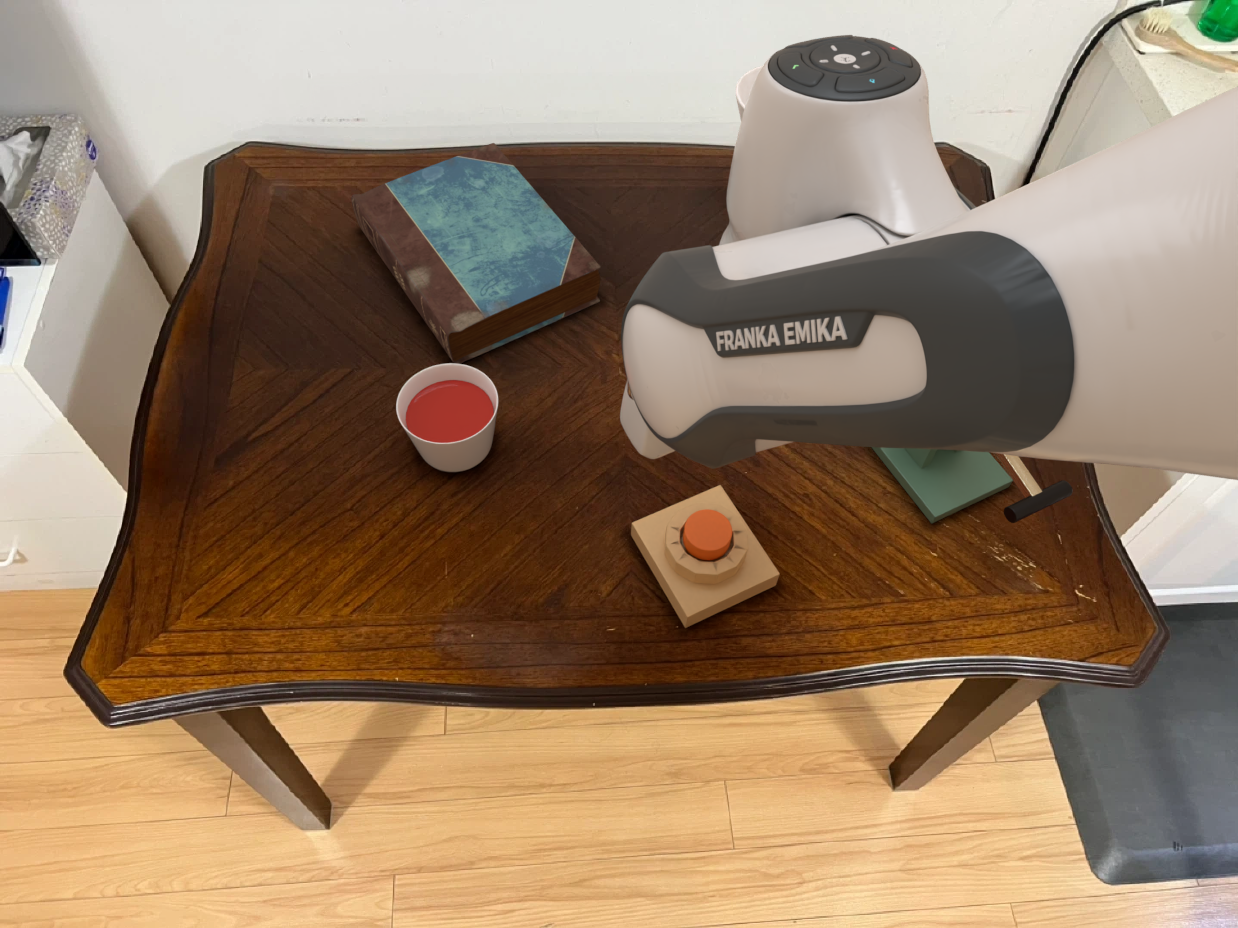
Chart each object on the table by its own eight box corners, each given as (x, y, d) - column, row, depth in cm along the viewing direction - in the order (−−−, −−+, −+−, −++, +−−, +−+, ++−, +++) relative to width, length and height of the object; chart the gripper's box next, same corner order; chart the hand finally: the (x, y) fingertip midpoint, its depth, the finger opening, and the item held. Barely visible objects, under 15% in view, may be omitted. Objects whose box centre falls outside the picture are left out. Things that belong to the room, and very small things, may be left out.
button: (738, 549, 80) (741, 539, 78) (697, 568, 79) (699, 558, 77) (714, 512, 82) (717, 502, 80) (674, 530, 81) (675, 520, 79)
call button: (776, 585, 82) (783, 563, 79) (685, 628, 80) (689, 607, 76) (717, 497, 87) (722, 473, 84) (630, 535, 85) (632, 512, 81)
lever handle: (1063, 500, 80) (1078, 489, 78) (1007, 527, 79) (1022, 517, 76) (970, 365, 85) (982, 351, 82) (915, 388, 83) (927, 375, 81)
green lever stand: (1008, 487, 88) (1061, 410, 79) (931, 524, 86) (975, 450, 76) (917, 381, 95) (955, 298, 85) (843, 412, 93) (873, 331, 83)
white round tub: (462, 390, 93) (455, 347, 88) (523, 444, 90) (519, 403, 84) (388, 441, 90) (375, 400, 84) (448, 500, 86) (438, 461, 81)
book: (358, 231, 105) (349, 195, 101) (499, 177, 111) (495, 141, 107) (453, 367, 95) (446, 334, 91) (602, 300, 100) (603, 266, 96)
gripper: (655, 397, 52) (643, 522, 64) (952, 282, 58) (891, 416, 69) (605, 319, 55) (602, 452, 67) (891, 216, 61) (843, 356, 72)
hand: (751, 433), depth 68 cm, fingers closed
